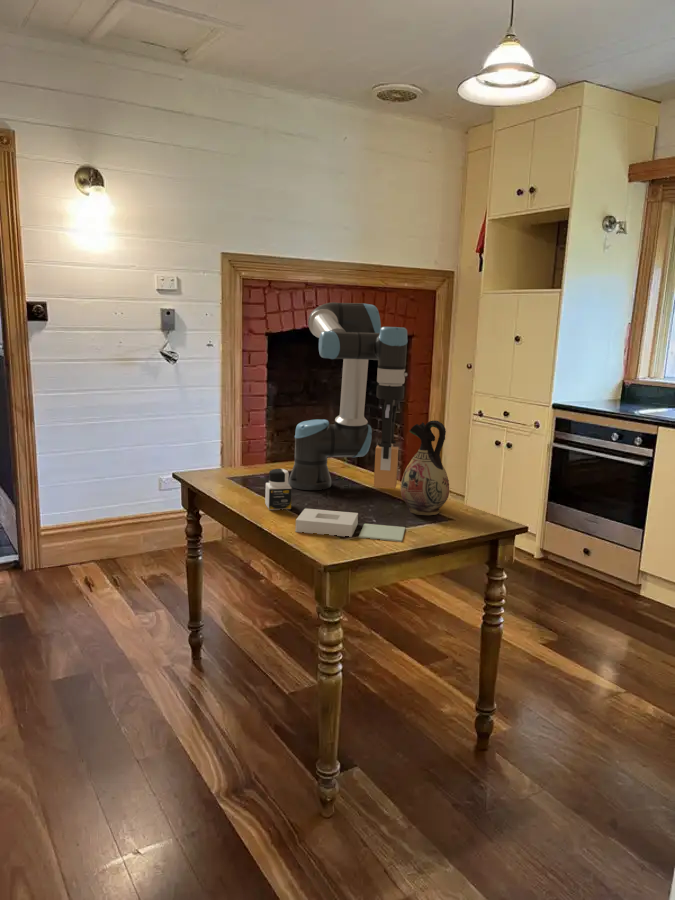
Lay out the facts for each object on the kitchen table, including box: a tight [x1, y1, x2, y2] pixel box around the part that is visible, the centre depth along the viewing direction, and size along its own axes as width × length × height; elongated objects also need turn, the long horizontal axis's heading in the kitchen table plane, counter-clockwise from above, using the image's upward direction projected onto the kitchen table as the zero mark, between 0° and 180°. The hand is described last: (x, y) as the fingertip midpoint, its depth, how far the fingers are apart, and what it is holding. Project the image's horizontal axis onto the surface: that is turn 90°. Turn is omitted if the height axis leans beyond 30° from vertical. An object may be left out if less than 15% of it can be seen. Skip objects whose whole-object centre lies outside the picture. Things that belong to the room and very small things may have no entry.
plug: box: [373, 444, 400, 489], centre depth 191 cm, size 4×6×11 cm, turn 80°
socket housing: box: [295, 507, 359, 538], centre depth 197 cm, size 12×16×4 cm
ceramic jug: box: [400, 420, 450, 516], centre depth 214 cm, size 17×15×30 cm
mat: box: [358, 523, 406, 543], centre depth 195 cm, size 12×12×1 cm
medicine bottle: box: [264, 468, 293, 511], centre depth 215 cm, size 7×7×12 cm
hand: (386, 468), depth 191 cm, fingers closed on plug, 4 cm apart
